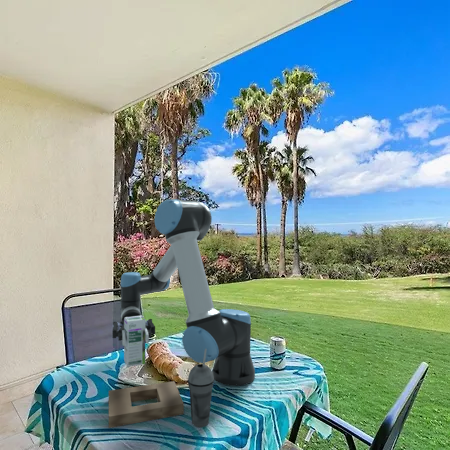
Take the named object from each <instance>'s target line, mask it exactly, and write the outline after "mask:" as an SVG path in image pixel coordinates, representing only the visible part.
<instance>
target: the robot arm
mask: <svg viewBox="0 0 450 450" xmlns="http://www.w3.org/2000/svg"><path fill="white" fill-rule="evenodd" d="M212 220H213V219H212V213H211V210H210V209H209V207H208V206H207V205H206V204H205V203H203V202H201V201H198V200H197V201H196V200H183V199H177V198H174V199H166V200H163V201H162V202H161V203H159V204H158V207H157V208H156V211H155V215H154V225H155V228H156V230H157V231H158V232H159V233H160V234H162V235H164V236H165V240H166V241H165V242H167V244H170V246H169V248H168V249H167V251H166V252H165V253H164V255H163V257H162V258H161V260H159V262H158V264H157V265H156V266H155V268H154V269H153V270H152V272H151V274H148V275H147V274H146V275H141V274H140V273H139V272H138V271H137V272H136V271H130V272H124V273H122V275H121V277H120V311H119V314H120V320H121V321H120V322H118V321H113V322H112V339H116V338H117V339H118V341H120V342H122V347H123V346H125V330H124V318H125V317H133V316H140V315H142V313H141V296H142V295H143V296H144V295H148V294H152V293H157V292H162V291H165V290H168V289H169V287H170V284H171V279H170V278H171V277H172V276H173V275H174V274H175V272H176V271H178V276H179V279H180V284H181V287H182V291H183V292H182V293H183V295H184V301H185V305H186V310H187V313H188V317H187V318H186V320H185V325H186V329H185V330H184V331H183V334H182V337H181V338H182V339H181V340H182V346H183V349H184V351H185V353H186V355H188V357H189V358H190V359H192V360H193V361H194V362H196V363H198V364H203V359H204V351H205V349H207V350H206V358H205V364H206V363H209V362H211V361H214V363H213V366H212V368H211V370H212V373H213V376H214V382H217V383H218V384H221V385H225V386H229V387H230V386H231V387H235V386H237V387H239V386H245V385H248V384H250V383H252V382H254V380H255V379H256V378H255V377H256V370H255V366H254V362H253V359H252V356H251V339H252V338H251V336H252V335H251V334H252V331H251V330H252V321H251V314H249V312H246V311H243V310H240V309H239V310H238V309H231V308H229V309H228V308H225V309H224V308H223V309H219V310H217V309H216V308H215V307H214V306H215V305H214V302H213V298H212V294H211V290H210V286H209V283H208V279H207V275H206V271H205V267H204V262H203V259H202V255H201V252H200V247H199V243H198V242H200V241H203V239H204V238H205V237H206V235H207V234H208V232H209V231H210V228H211V225H212ZM152 335H156V326H155V324H154V322H153V319H152V318H149V319H147V320H145V344H149V341H150V338H151V337H152Z"/></svg>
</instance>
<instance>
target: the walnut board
mask: <svg viewBox="0 0 450 450" xmlns="http://www.w3.org/2000/svg"><path fill="white" fill-rule="evenodd" d="M181 396H182V395H181V393H180V391H179V389H178V387H177V384H176V382H175V380H173V381H166V382H165V381H164V382H160V383H152V384H145V385H139V386H133V387H132V386H131V387H127V388H119V389H111V390H108V429H110V428H117V427H122V426H126V425H127V426H128V425H132V424H133V425H134V424H137V423H143V422H148V421H149V422H150V421H155V420H160V419H166V418H170V417H177V416H181V415H184V413H185V411H184V410H185V409H184V407H185V406H184V402H183V399H182V397H181ZM153 399H154V400H155V399H156V401H157V402H151V403H146V404H139V405H135V406H132V403H134V402H135V403H136V402H140V401H141V402H142V401H147V400H153Z"/></svg>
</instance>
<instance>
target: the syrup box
mask: <svg viewBox="0 0 450 450" xmlns="http://www.w3.org/2000/svg"><path fill="white" fill-rule="evenodd" d="M145 321H146V319H145V317H144V316H143V315H142V314H141V315H140V316H133V317H125V318H124V330H125V346H124V347H123V353H124V355H123V360H124V363H125V365H126V368H130V367H135V366H142V365H146V341H145Z"/></svg>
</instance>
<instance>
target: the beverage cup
mask: <svg viewBox="0 0 450 450" xmlns="http://www.w3.org/2000/svg"><path fill="white" fill-rule="evenodd" d="M206 350H207V349H205V351H204V359H203V363H198V364H196V365H195V366H194V365H193V367H192V368H191V369H190V370H189V374H188V376H187V384H188V389H189V400H190V401H189V403H190V415H191V416H190V417H191V422H192V425H193V426H194V427H197V428H205V427H206V426H208V424H209V421H210V416H211V415H210V414H211V404H212V393H213V388H214V383H215V380H214V376H213V373H212V368H211V367H209V366H208V365H207V364H206V363H205V358H206Z"/></svg>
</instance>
